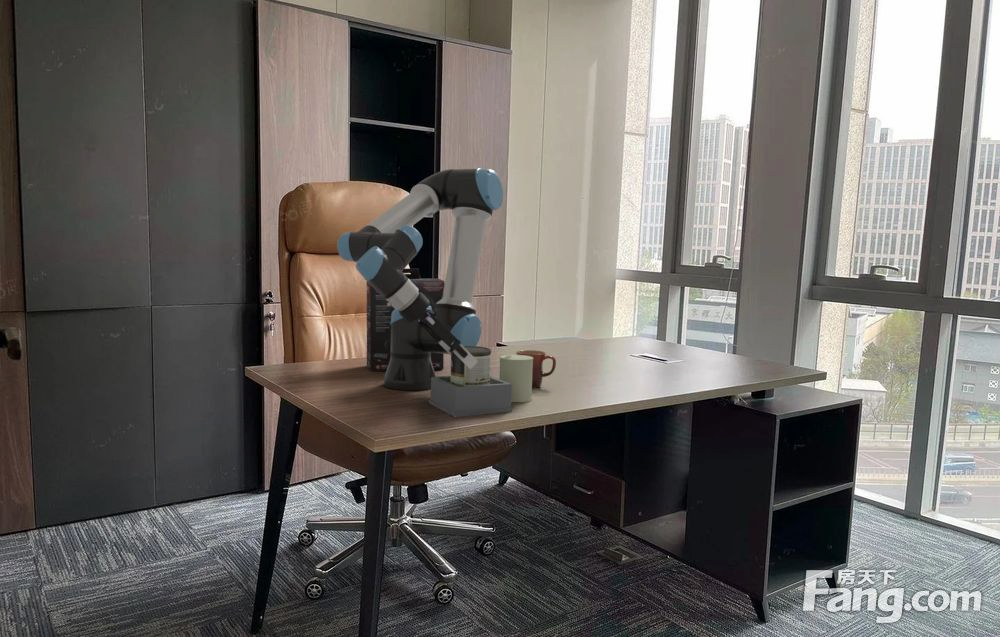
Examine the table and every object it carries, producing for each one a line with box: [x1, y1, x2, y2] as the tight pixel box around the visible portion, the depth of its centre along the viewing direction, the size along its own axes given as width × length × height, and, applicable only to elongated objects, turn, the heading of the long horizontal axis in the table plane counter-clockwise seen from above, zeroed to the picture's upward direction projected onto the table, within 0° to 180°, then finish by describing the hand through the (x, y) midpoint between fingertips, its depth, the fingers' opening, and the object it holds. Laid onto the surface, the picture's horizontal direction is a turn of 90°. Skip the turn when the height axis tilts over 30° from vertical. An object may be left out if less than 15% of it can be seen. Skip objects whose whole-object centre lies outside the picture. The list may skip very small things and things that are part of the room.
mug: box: [515, 349, 557, 389], centre depth 216 cm, size 12×9×10 cm
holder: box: [428, 375, 514, 418], centre depth 187 cm, size 16×16×7 cm
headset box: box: [366, 268, 445, 372], centre depth 241 cm, size 25×12×33 cm, turn 106°
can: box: [499, 354, 533, 403], centre depth 198 cm, size 9×9×12 cm
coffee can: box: [450, 345, 492, 387], centre depth 186 cm, size 10×10×14 cm
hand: (466, 360), depth 185 cm, fingers open, 13 cm apart
